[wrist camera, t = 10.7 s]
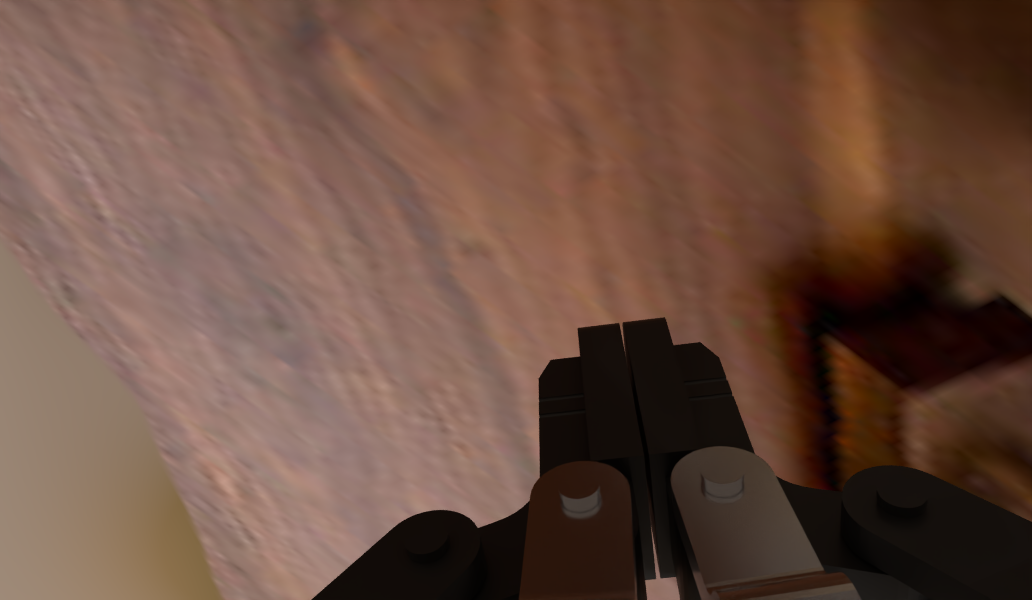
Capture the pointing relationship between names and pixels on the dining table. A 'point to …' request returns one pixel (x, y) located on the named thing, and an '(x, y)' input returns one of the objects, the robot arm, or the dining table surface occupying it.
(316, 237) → the dining table surface
